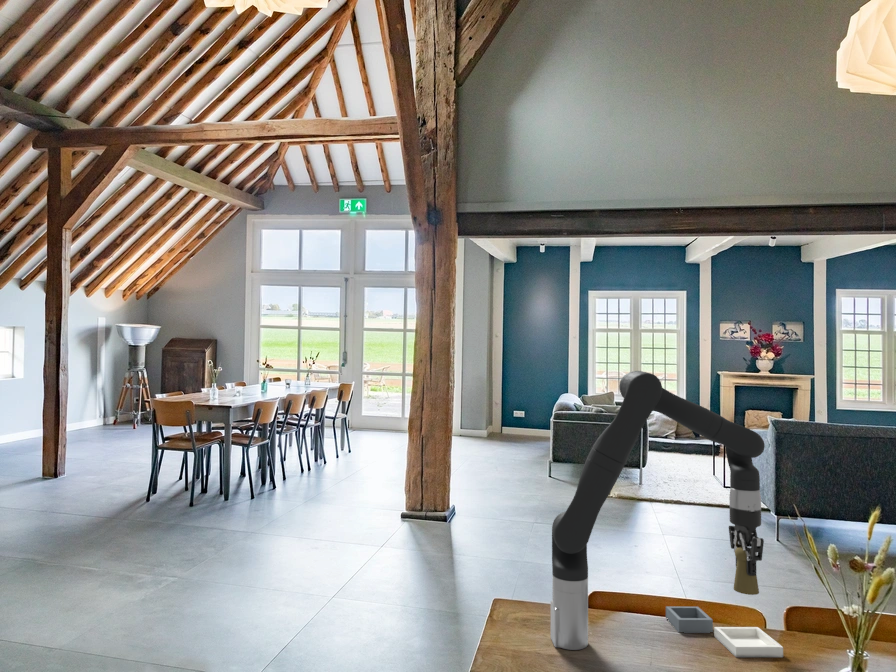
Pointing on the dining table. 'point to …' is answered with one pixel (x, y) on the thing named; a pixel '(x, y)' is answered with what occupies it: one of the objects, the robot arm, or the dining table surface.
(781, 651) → the tray
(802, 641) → the dining table surface
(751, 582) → the cork
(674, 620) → the box
